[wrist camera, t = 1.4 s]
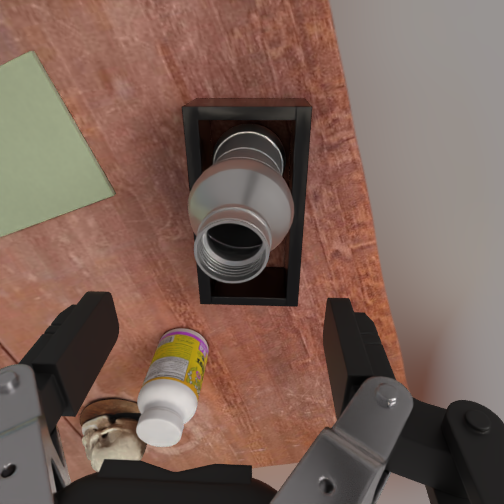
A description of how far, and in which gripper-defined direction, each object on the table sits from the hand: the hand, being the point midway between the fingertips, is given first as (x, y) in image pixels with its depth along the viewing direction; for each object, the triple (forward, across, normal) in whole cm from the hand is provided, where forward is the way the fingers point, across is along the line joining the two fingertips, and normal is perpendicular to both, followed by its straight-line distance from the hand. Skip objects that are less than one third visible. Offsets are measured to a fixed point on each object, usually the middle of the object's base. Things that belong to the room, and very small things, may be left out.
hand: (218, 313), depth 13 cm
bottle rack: (+25, 0, +4) cm, 25 cm away
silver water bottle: (+25, 0, 0) cm, 25 cm away
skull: (+25, +21, +42) cm, 53 cm away
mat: (+25, +27, +1) cm, 37 cm away
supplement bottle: (+25, +9, +25) cm, 37 cm away
